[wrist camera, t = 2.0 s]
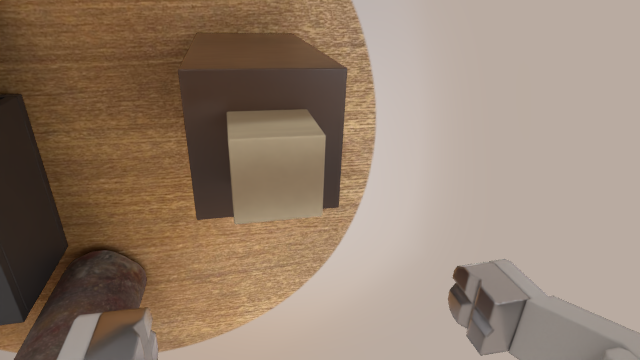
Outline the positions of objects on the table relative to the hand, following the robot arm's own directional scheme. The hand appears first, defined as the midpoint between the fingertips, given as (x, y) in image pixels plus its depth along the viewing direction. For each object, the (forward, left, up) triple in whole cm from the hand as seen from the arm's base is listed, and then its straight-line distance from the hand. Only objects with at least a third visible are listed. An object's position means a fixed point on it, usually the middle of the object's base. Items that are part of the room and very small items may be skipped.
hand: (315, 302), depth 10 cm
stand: (0, 0, -27) cm, 27 cm away
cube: (0, 0, -11) cm, 11 cm away
